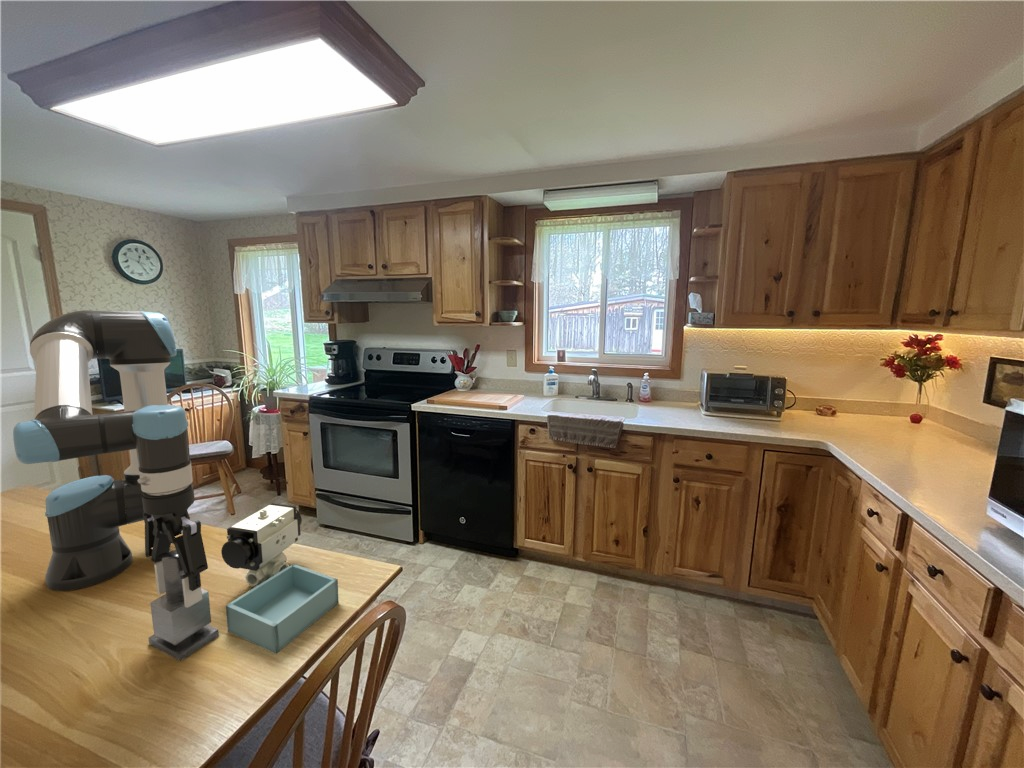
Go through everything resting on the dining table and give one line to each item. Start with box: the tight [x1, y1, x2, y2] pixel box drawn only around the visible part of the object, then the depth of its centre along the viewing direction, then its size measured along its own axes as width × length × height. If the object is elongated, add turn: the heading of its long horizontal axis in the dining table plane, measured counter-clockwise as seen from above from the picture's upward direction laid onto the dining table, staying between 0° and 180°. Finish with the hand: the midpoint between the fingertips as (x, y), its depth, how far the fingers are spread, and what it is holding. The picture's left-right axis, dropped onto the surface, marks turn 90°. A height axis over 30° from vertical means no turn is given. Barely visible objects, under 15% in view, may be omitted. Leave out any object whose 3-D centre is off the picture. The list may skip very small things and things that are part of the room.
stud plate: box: [148, 624, 220, 662], centre depth 82 cm, size 10×7×9 cm
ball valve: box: [220, 502, 303, 587], centre depth 102 cm, size 18×8×18 cm, turn 168°
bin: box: [225, 563, 340, 655], centre depth 90 cm, size 14×16×6 cm
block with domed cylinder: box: [149, 549, 212, 645], centre depth 81 cm, size 7×7×16 cm
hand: (179, 596), depth 81 cm, fingers open, 8 cm apart
